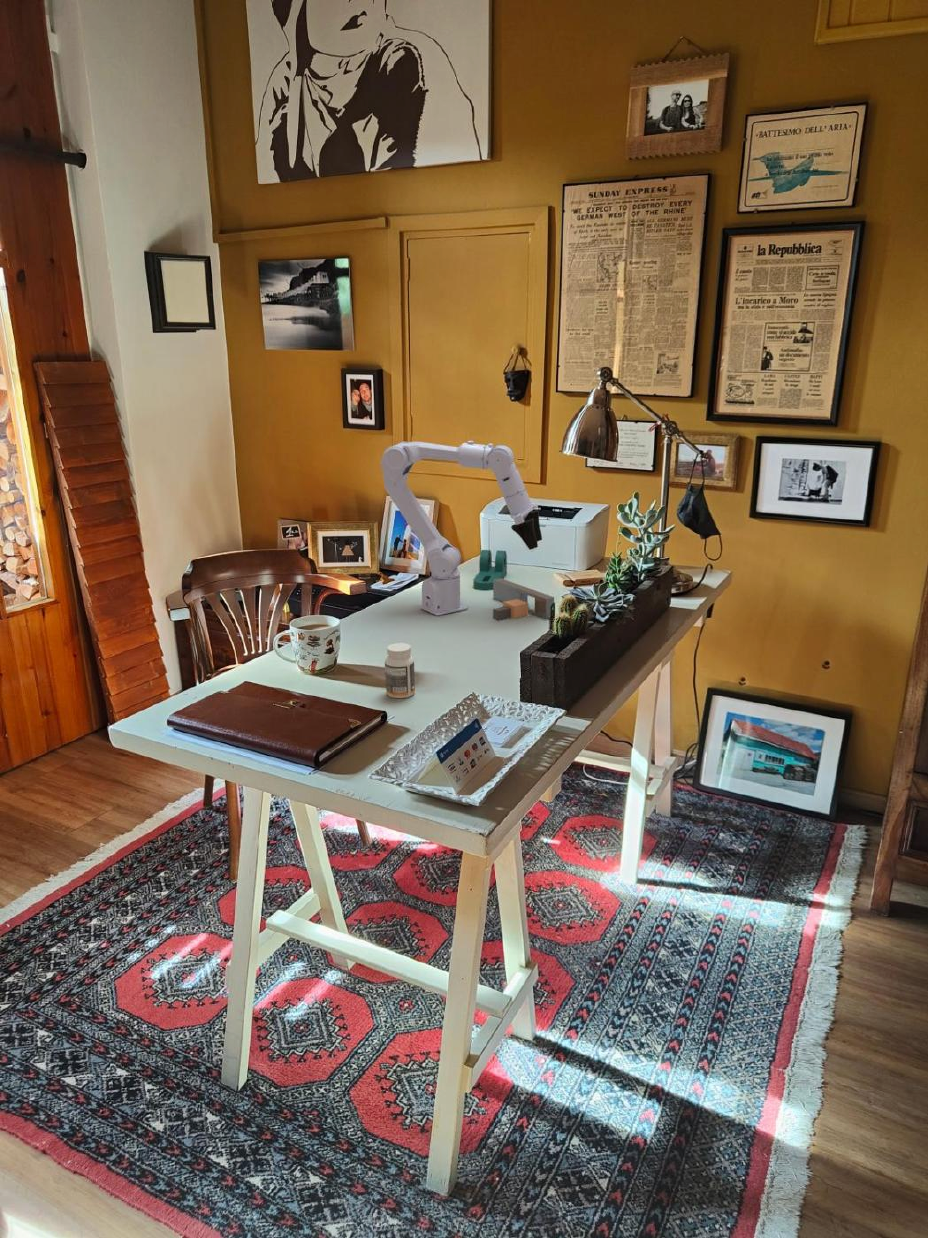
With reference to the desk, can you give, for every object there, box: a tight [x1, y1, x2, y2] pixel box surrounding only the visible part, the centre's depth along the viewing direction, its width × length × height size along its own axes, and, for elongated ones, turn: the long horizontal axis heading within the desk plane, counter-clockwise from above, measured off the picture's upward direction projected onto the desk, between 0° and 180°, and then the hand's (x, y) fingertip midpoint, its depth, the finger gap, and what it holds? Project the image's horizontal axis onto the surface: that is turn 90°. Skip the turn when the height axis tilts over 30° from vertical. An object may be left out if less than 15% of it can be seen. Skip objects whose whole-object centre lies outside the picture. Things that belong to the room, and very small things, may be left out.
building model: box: [492, 578, 555, 620], centre depth 228 cm, size 2×22×5 cm, turn 35°
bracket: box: [472, 549, 508, 591], centre depth 252 cm, size 18×7×8 cm, turn 167°
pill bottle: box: [384, 642, 416, 699], centre depth 175 cm, size 6×6×10 cm
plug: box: [492, 599, 529, 620], centre depth 222 cm, size 8×4×3 cm, turn 125°
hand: (536, 544), depth 219 cm, fingers open, 7 cm apart
